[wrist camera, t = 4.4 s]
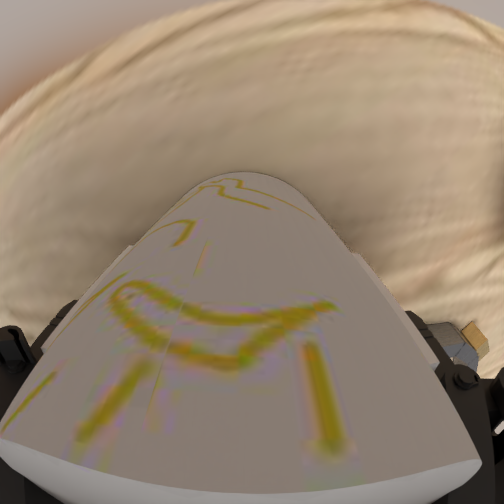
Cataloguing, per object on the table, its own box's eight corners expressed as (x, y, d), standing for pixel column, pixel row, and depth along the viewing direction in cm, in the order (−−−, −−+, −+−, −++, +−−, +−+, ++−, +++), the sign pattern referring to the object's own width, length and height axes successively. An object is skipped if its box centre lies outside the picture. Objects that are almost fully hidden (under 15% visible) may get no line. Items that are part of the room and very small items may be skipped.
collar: (317, 432, 21) (321, 454, 18) (356, 330, 16) (368, 357, 14) (427, 412, 21) (435, 428, 19) (484, 316, 16) (500, 333, 14)
